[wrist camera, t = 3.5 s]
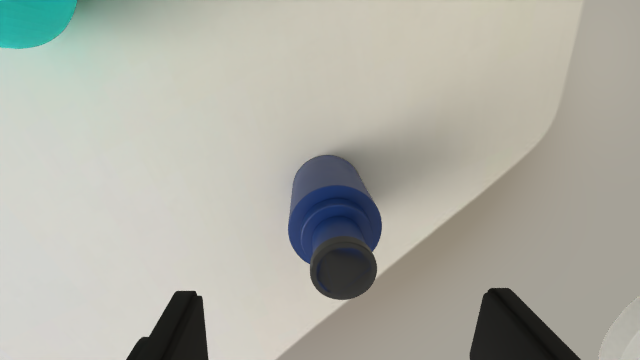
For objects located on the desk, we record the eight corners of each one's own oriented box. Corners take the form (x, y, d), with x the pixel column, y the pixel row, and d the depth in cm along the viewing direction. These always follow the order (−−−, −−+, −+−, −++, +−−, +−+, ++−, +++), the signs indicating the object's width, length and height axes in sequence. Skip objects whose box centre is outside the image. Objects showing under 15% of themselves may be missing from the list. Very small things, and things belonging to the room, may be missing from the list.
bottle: (363, 155, 23) (410, 217, 13) (358, 219, 25) (396, 321, 14) (293, 154, 23) (283, 215, 13) (292, 218, 25) (283, 321, 14)
